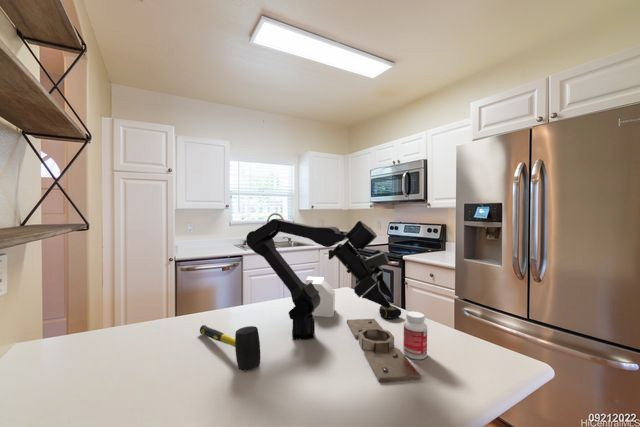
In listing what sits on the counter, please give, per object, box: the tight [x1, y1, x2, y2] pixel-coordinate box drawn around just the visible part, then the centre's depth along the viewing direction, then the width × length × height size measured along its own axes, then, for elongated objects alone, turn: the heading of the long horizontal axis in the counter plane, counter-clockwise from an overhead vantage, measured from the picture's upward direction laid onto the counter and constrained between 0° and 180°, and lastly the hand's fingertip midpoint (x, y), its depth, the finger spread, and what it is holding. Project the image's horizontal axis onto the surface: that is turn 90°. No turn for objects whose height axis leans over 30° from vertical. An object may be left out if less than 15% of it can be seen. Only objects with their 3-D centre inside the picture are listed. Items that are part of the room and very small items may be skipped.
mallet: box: [199, 324, 261, 372], centre depth 76 cm, size 29×6×10 cm, turn 47°
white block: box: [305, 276, 336, 318], centre depth 107 cm, size 11×11×12 cm
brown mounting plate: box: [346, 318, 421, 383], centre depth 80 cm, size 34×10×3 cm, turn 7°
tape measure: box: [379, 304, 402, 319], centre depth 102 cm, size 7×7×4 cm
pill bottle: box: [402, 311, 428, 360], centre depth 75 cm, size 6×6×11 cm
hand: (390, 301), depth 77 cm, fingers open, 9 cm apart
